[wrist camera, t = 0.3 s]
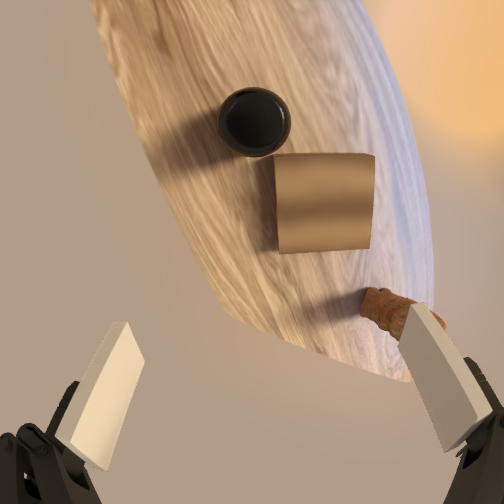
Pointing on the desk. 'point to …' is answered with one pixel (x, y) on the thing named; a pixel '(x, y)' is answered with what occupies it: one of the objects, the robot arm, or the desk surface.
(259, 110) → the supplement bottle
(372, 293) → the figurine
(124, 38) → the desk surface
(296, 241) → the pedestal
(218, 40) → the desk surface
